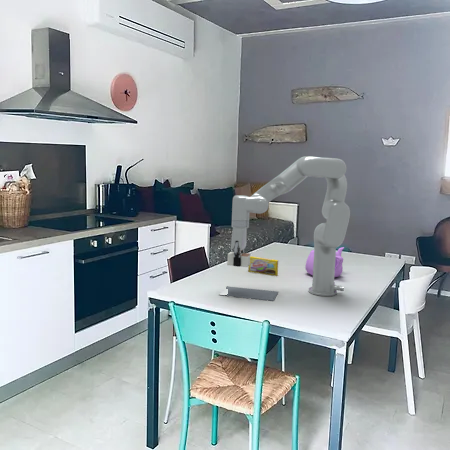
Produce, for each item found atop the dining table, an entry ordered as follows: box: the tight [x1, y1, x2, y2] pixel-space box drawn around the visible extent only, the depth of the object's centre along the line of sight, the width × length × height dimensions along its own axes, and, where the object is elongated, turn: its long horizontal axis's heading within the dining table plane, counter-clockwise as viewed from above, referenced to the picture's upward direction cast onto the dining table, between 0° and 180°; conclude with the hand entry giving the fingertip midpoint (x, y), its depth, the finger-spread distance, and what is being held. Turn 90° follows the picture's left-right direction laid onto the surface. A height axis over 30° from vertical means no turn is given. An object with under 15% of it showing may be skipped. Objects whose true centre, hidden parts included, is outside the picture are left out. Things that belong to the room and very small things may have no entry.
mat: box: [225, 285, 279, 302], centre depth 203 cm, size 24×14×1 cm, turn 75°
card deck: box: [227, 251, 251, 268], centre depth 203 cm, size 5×9×5 cm, turn 75°
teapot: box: [304, 246, 345, 278], centre depth 240 cm, size 23×21×15 cm
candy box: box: [247, 255, 279, 277], centre depth 240 cm, size 16×2×8 cm, turn 62°
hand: (238, 264), depth 203 cm, fingers closed on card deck, 5 cm apart
